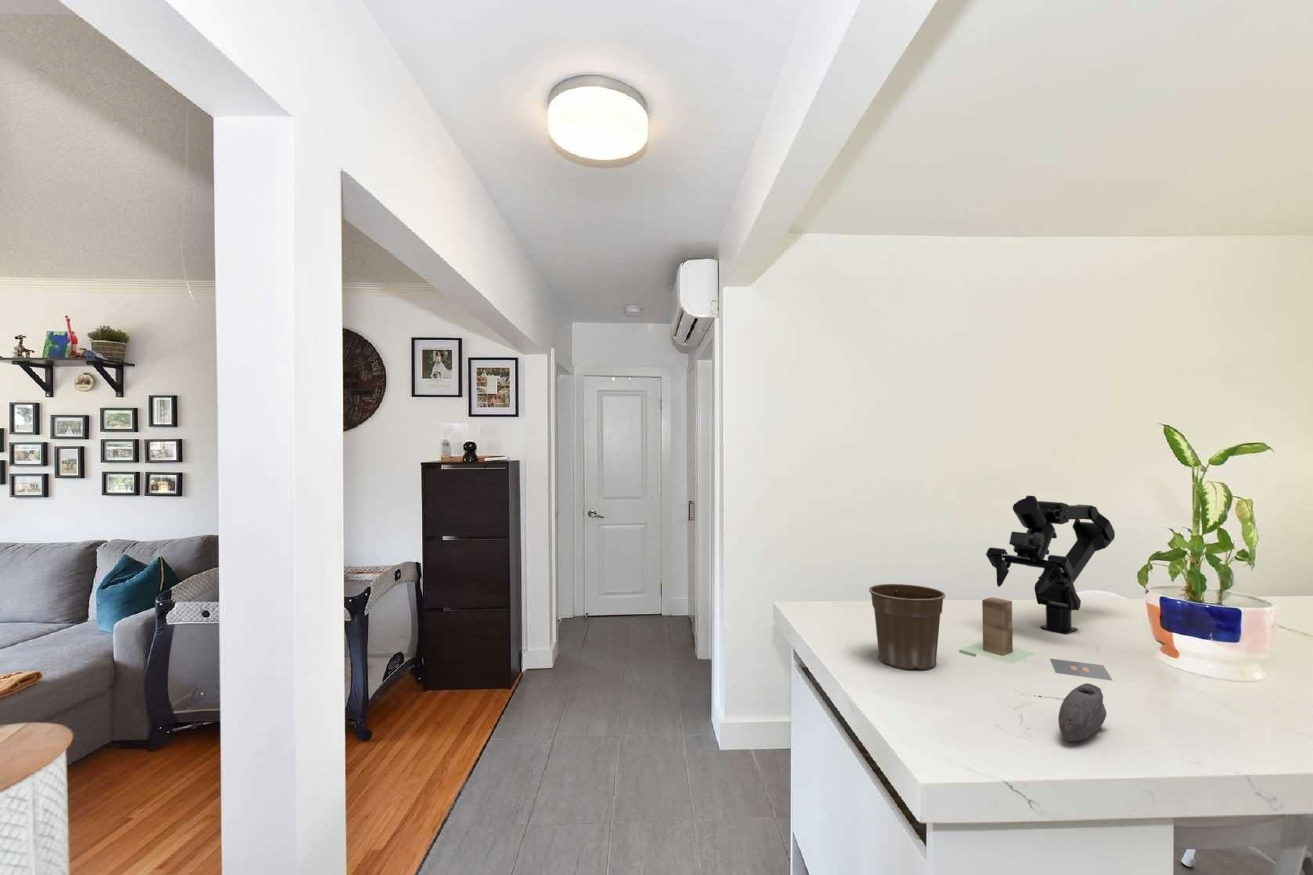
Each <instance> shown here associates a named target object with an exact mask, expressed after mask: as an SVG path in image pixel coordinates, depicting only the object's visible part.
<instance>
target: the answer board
mask: <svg viewBox="0 0 1313 875" xmlns="http://www.w3.org/2000/svg"><path fill="white" fill-rule="evenodd" d="M959 653H961V654H965V655H968V656H973V657H977V655H978V656H980V657H985V658H989V659H993V660H997V661H1000V662H1004V663H1008V664H1011V665H1014V664H1016V663H1018V662H1020V661H1023V660H1025V659H1027V658H1029V657H1031V656H1033V655H1037V653H1036V652H1033V651H1030V650H1026V649H1021V648H1016V647H1013V652H1012V653H1010V654H1007V655H1005V656H1001V655H997V654H993V653H990V652H986V651H983V640H982V641H978V642H976V643H973V644H971V645H968V646H966V647H963V648H959Z"/></svg>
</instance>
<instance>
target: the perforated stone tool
mask: <svg viewBox="0 0 1313 875" xmlns="http://www.w3.org/2000/svg"><path fill="white" fill-rule="evenodd" d="M1103 702H1104V695H1103V693H1102V688H1100V687H1099V686H1096V685H1094V684H1091V683H1087V682H1086V683H1083V684H1080V685H1078V686H1077V687H1075V688H1073V689H1071V691H1069V693H1068V694H1067V695H1066V696H1065V698H1064V699H1063V700H1062V703H1061V705H1060V707H1059V712H1058V719H1057V720H1058V729H1059V731H1060V733H1061V735H1062V737H1063V738H1064V739H1065V740H1066V741H1067V742H1069V743H1070V742H1072V743H1074V742H1081V741H1084V740H1085V739H1087V738H1089V737H1091V735H1094V734H1095V733H1096V732H1097V731H1098V730H1100V728H1101V727H1102V725H1103V724H1104V722H1105V720H1106V718H1107V710H1106V707H1105V705H1104V703H1103Z"/></svg>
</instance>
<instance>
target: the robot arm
mask: <svg viewBox="0 0 1313 875" xmlns="http://www.w3.org/2000/svg"><path fill="white" fill-rule="evenodd" d="M1012 511H1013V512H1014V514H1015V515H1016V517H1017V519H1018V520H1019V522H1020V524H1021V525H1022V526H1023V527H1024V528H1026V529H1027V530H1026V532H1022V531H1010V532H1011V533H1010V537H1009V542H1008V543H1009V545H1011V546H1012V547H1013V552H1014V553H1015V554H1016V555H1015V554H1008V552H1007V550H1006V548H1000V547H989V548H988V549H987V551H986V553H985V555H986V557H987V559H988V560H989V563H990V564H991V566H992V567H993V568H995V571H996V572H995V573H996V585H997V587H999V588H1000V587H1001V586H1002V585H1003V583H1004V582H1005V579H1006V578H1007V576H1008V574H1009V572H1010V570H1009V568H1010V567H1011V565H1012V564H1015V565H1023V566H1026V567H1031V568H1032V567H1033V568H1039V569H1043V571H1042V573H1041V575H1039V576H1038V579H1037V581H1036V582H1035V584H1034V593H1035V598H1036V602H1037V604H1038V605H1043V606H1045V624H1043V625H1040V629H1042V630H1047V631H1052V632H1057V633H1061V634H1066V635H1067V634H1071V633H1073V632H1076V631H1078V628H1077V627H1073V626H1072V611H1080V609H1081V605H1082V601H1081V598H1080V597H1079V595H1078V593H1077V591H1076V587H1075V585H1074V583H1075V581H1076V580H1077V578H1078V577H1079V576H1080V574H1081V573H1082V571H1083V570H1084V569H1085V567H1086V566H1087V564H1088V563H1089V561H1090V560H1091V558H1092V557H1093V555H1094V554H1095V552H1099V551H1102V550H1103V549H1106V548H1107V547H1109V545H1111V543H1112V542H1113V541H1114V540H1115V538H1116V537H1115V536H1116V534H1115V530H1114V528H1113V525H1112V524H1111V521H1110V520H1109V519H1108V518H1107V517H1105V516H1104V515H1103V514H1101V513H1100V511H1098V508H1097V506H1094V505H1089V504H1074V505H1073V504H1071V505H1069V504H1068V503H1064V502H1060V501H1059V502H1057V501H1043V500H1038V499H1037V497H1036V495H1026V496H1025V498H1021V499H1019V500H1018V501H1016V502H1015V503H1013V505H1012ZM1070 520H1074V521H1073V522H1074V523H1073V524H1072V529H1073V531H1074V534H1075V536H1076V537H1075V538H1076V540H1075V543H1073V545H1072V547H1071V548H1070V549H1069V550H1068V552H1067V553H1066V554H1065V556H1062V555H1055V554H1050V550H1049V547H1050V545H1051V541H1052V540H1053V539H1057V537H1058V535H1057V532H1056V528H1055V527H1054V525H1063V524H1066V523H1069V522H1070ZM1081 520H1088V521H1081ZM1089 520H1091V521H1092V522H1090V521H1089ZM1046 556H1047V560H1046V559H1045V557H1046Z"/></svg>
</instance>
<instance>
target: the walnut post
mask: <svg viewBox="0 0 1313 875" xmlns="http://www.w3.org/2000/svg"><path fill="white" fill-rule="evenodd" d="M981 604H982V611H981V612H982V641H983V651H986V652H990V653H993V654H997V655H1001V656H1005V655H1007V654H1010V653H1012V652H1013V646H1014V645H1013V644H1014V642H1013V640H1014V637H1013V600H1009V599H1003V598H998V597H994V596H991V597H988V598H984V599H982V603H981Z"/></svg>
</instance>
